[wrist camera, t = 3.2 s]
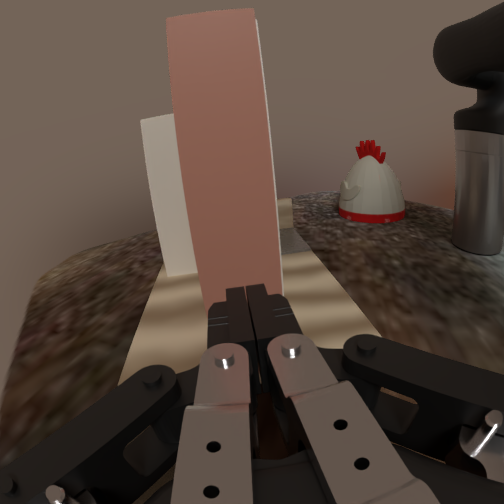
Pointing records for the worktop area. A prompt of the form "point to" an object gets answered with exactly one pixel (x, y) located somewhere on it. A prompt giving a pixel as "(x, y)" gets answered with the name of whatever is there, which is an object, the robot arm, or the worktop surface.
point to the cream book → (168, 194)
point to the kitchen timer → (371, 189)
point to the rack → (196, 324)
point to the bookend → (292, 242)
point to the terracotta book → (225, 150)
